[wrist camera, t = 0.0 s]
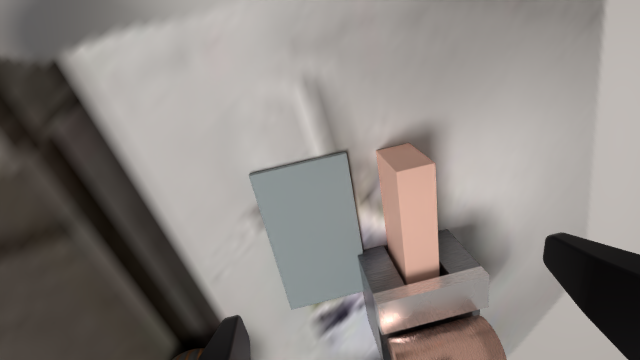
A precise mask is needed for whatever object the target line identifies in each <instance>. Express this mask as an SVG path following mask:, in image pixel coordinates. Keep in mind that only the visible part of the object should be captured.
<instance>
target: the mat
mask: <svg viewBox="0 0 640 360" xmlns="http://www.w3.org/2000/svg"><path fill="white" fill-rule="evenodd" d="M249 178H250V181H251V184H252V187H253V190H254V193H255V197H256V200H257V203H258V206H259V209H260V212H261V216H262V219H263V222H264V225H265V228H266V231H267V234H268V238H269V241H270V244H271V247H272V250H273V253H274V257H275V260H276V263H277V266H278V269H279V272H280V276H281V279H282V282H283V285H284V288H285V291H286V294H287V298H288V301H289V304H290V307H291V310H292V309H296V308H300V307H304V306H308V305H312V304H316V303H320V302H324V301H328V300H331V299H335V298H339V297H343V296H347V295H351V294H355V293H359V292H363V291H364V290H363V285H362V279H361V273H360V268H359V262H358V256H357V255H361V254H363V250H362V244H361V238H360V232H359V226H358V220H357V214H356V208H355V202H354V196H353V190H352V184H351V178H350V172H349V166H348V160H347V154H346V152H341V153H337V154H333V155H328V156H324V157H320V158H315V159H311V160H307V161H303V162H298V163H294V164H290V165H285V166H281V167H277V168H273V169H268V170H264V171H260V172H256V173H251V174H249Z"/></svg>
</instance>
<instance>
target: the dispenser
mask: <svg viewBox="0 0 640 360" xmlns="http://www.w3.org/2000/svg"><path fill="white" fill-rule="evenodd" d="M438 250H439V277H437V278H433V279H429V280H425V281H421V282H417V283H413V284H409V285H406V286H405V285H404V283H403V281H402V279H401V277H400V276H399V274H398V272H397V270H396V268H395V266H394V265H393V263H392V261H391V259H390V257H389V255H388V254H387V252H386V250H385V248H384V246H380V247H376V248H372V249H368V250H364V251H363V254H361V255H357V256H358V262H359V268H360V273H361V279H362V285H363V290H364V291H363V294H364V299H365V305H366V311H367V316H368V321H369V324H370V326H371V329H372V332H373V335H374V338H375V341H376V344H377V347H378V349H379V352H380V355H381V358H382V360H507V359H506V355H505V352H504V350H503V347H502V345H501V342H500V340H499V338H498V336H497V335H496V333H495V331H494V330H493V328H492V327H491V325H490V324H489V323H488V322H487V321H486V319H484V318H483V317H482V316H480V309H483V308H486V307H488V302H489V280H490V275H489V274H488V273H487V272H486V271H485V270H484V269H483V268H482V267H481V266H480V264H479V263H478V262H477V261H476V260H475V259H474V258H473V257H472V256H471V255H470V254H469V253H468V251H467V250H466V249H465V248H464V247H463V246H462V245H461V244H460V243H459V242H458V241H457V240H456V239H455V237H454V236H453V235H452V234H451V233H450V232H449V231H448V230H444V231H440V232H438Z"/></svg>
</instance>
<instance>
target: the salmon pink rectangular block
mask: <svg viewBox="0 0 640 360" xmlns="http://www.w3.org/2000/svg"><path fill="white" fill-rule="evenodd" d="M376 154H377V162H378V170H379V178H380V186H381V195H382V203H383V211H384V219H385V228H386V236H387V244H388V252H389V257H390V259H391V261H392V263H393V265H394V266H395V268H396V270H397V272H398V274H399V276H400V277H401V279H402V281H403V283H404V285H405V286H406V285H409V284H413V283H417V282H421V281H425V280H429V279H433V278H437V277H439V250H438V223H437V196H436V169H435V162H433V161H432V160H431V159H429V158H428V157H427V156H425V155H424V154H423V153H421V152H420V151H419V150H418V149H416V148H415V147H414V146H412V145H411V144H410V143H407V144H402V145H398V146H394V147H390V148H385V149H381V150H377V151H376Z"/></svg>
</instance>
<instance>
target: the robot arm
mask: <svg viewBox="0 0 640 360" xmlns="http://www.w3.org/2000/svg"><path fill="white" fill-rule="evenodd" d="M543 261H544V263H545V265H546V267H547V268H548V269H549V271H550V272H551V273H552V274H553V276H554V277H555V278H556V279H557V281H558V282H559V283H560V284H561V286H562V287H563V288H564V289H565V291H566V292H567V293H568V294H569V295H570V297H571V298H572V299H573V300H574V302H575V303H576V304H577V306H578V307H579V308H580V309H581V310H582V311H583V313H584V314H585V315H586V316H587V317H588V318H589V319H590V320H591V321H592V322H593V323H594V324H595V325H596V327H598V328H599V330H600V331H601V332H602V333H603V334H604V335H605V336H606V337H607V338H608V339H609V340H610V341H611V342H612V343H613V344H614V345H615V346H616V347H617V348H618V350H619V351H620V352H621V353H622V354H623V355H624V356H625V357H626V358H627V359H628V360H640V255H639V254H636V253H632V252H628V251H625V250H622V249H618V248H615V247H611V246H608V245H604V244H601V243H598V242H594V241H591V240H587V239H584V238H580V237H577V236H573V235H570V234H567V233H556V234H552V235H549V236H547V238H546V240H545V246H544V254H543ZM197 360H250V340H249V336H248V333H247V330H246V328H245V326H244V323H243V321H242V318H241V317H240V316H239V315H235V316H231V317H227V318H225V319H224V320H223V321H222V323H221V324H220V326H219V327H218V329H217V330H216V332H215V333H214V335H213V336H212V338H211V339H210V341H209V343H208V344H207V346H206V347H205V349H204V350H203V352H202V353H201V355H200V356H199V358H198V359H197Z"/></svg>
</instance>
